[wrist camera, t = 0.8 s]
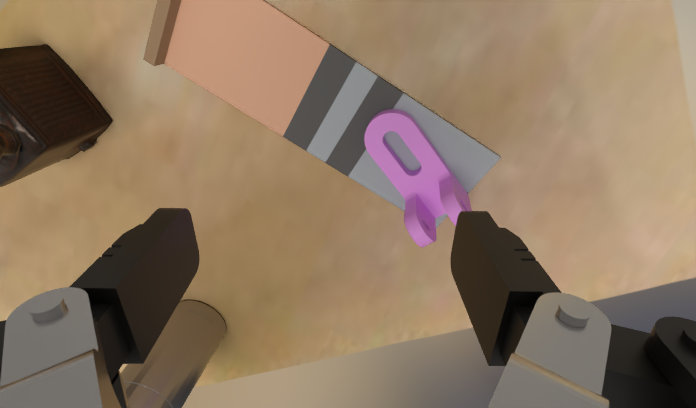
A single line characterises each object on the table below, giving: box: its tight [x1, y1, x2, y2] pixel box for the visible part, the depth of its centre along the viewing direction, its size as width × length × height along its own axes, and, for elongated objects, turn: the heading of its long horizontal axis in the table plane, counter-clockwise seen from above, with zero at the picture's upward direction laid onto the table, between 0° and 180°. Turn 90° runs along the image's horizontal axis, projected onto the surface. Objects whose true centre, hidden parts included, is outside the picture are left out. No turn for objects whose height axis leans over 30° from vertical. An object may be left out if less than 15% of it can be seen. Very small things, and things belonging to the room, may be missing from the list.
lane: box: [144, 0, 501, 228], centre depth 37 cm, size 11×36×2 cm, turn 60°
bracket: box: [364, 109, 472, 247], centre depth 36 cm, size 13×6×7 cm, turn 39°
